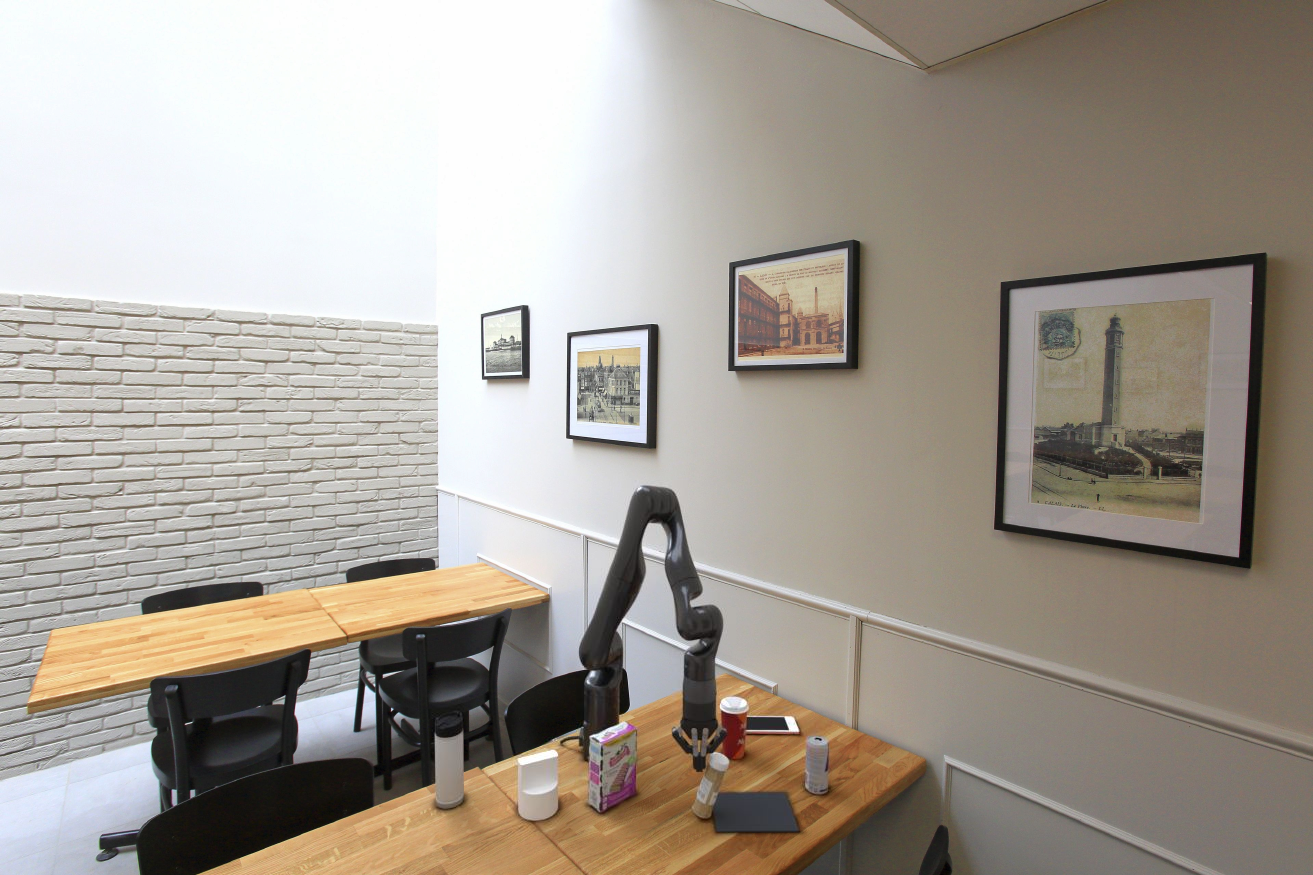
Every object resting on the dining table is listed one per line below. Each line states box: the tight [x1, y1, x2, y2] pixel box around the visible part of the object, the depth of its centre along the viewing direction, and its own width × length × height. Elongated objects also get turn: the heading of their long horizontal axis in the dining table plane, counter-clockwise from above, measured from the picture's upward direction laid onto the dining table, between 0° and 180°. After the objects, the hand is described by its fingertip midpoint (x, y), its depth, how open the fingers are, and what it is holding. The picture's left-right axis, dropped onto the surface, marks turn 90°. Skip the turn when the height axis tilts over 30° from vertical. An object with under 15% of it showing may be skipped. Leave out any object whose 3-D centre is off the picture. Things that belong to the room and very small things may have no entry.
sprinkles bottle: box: [691, 751, 730, 819], centre depth 147 cm, size 5×5×13 cm
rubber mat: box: [712, 791, 800, 834], centre depth 148 cm, size 18×14×1 cm
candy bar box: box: [587, 720, 638, 814], centre depth 152 cm, size 11×5×16 cm, turn 134°
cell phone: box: [746, 715, 800, 735], centre depth 187 cm, size 9×18×1 cm, turn 89°
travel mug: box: [434, 710, 465, 810], centre depth 152 cm, size 6×7×20 cm
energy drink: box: [804, 734, 830, 795], centre depth 157 cm, size 5×5×12 cm
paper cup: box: [719, 696, 750, 760], centre depth 173 cm, size 8×8×14 cm
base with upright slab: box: [517, 749, 559, 822], centre depth 149 cm, size 9×9×12 cm
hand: (699, 769), depth 146 cm, fingers closed
